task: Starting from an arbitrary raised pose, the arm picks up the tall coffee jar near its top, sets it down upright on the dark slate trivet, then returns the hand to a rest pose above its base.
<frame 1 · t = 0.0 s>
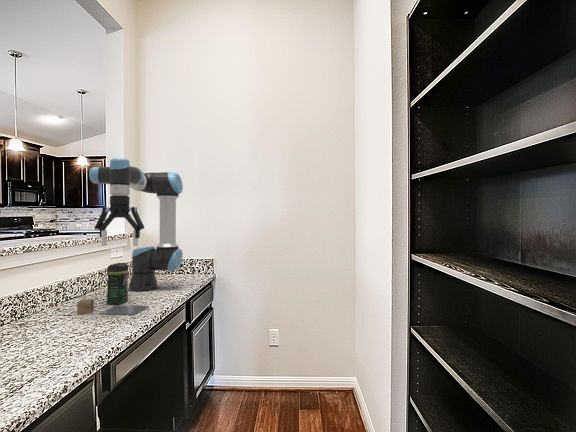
hand: (119, 246, 153), 28 cm above the counter, fingers open, 13 cm apart
walnut block: (85, 312, 154), on the counter
coffee jar: (117, 303, 171), on the counter
slate trivet: (125, 310, 156), on the counter
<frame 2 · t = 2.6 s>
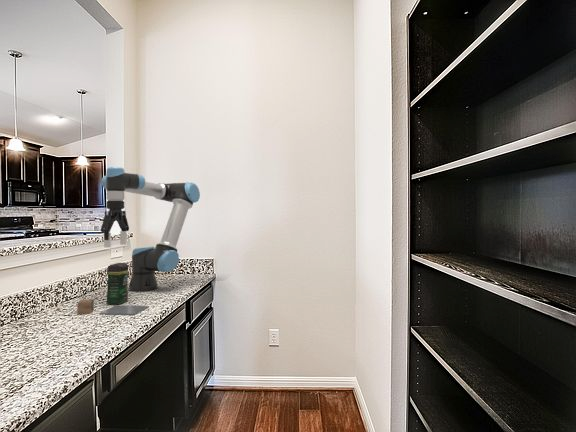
hand: (115, 245, 171), 27 cm above the counter, fingers open, 13 cm apart
nothing on the counter moved.
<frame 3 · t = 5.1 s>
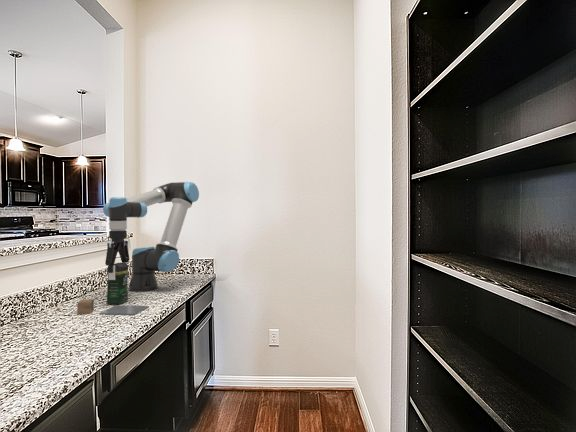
hand: (117, 277, 171), 12 cm above the counter, fingers closed on coffee jar, 9 cm apart
coffee jar: (117, 302, 171), on the counter, touching gripper
everything else where it was.
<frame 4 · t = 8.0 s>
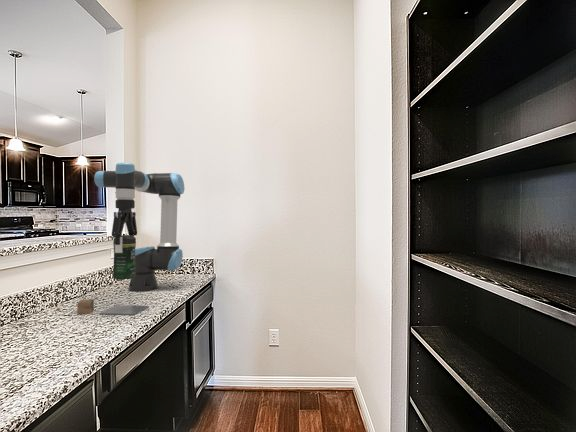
hand: (125, 251, 156), 25 cm above the counter, fingers closed on coffee jar, 9 cm apart
coffee jar: (124, 278, 156), point 14 cm above the counter, touching gripper
everything else where it was.
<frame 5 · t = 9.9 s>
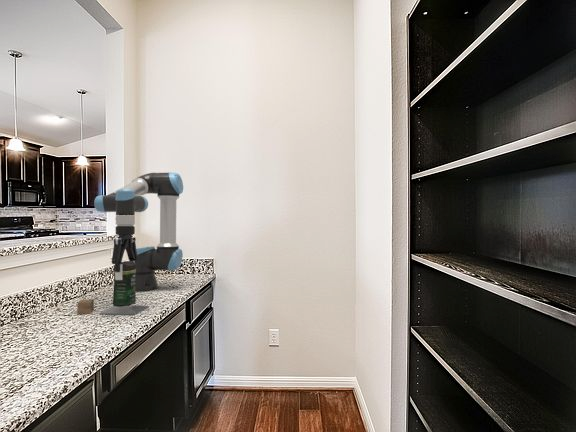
hand: (125, 277, 156), 14 cm above the counter, fingers closed on coffee jar, 9 cm apart
coffee jar: (124, 305, 156), point 2 cm above the counter, touching gripper
everything else where it was.
when the fingers open (13 cm above the counter, at t = 11.1 s): coffee jar stays where it is, resting on slate trivet.
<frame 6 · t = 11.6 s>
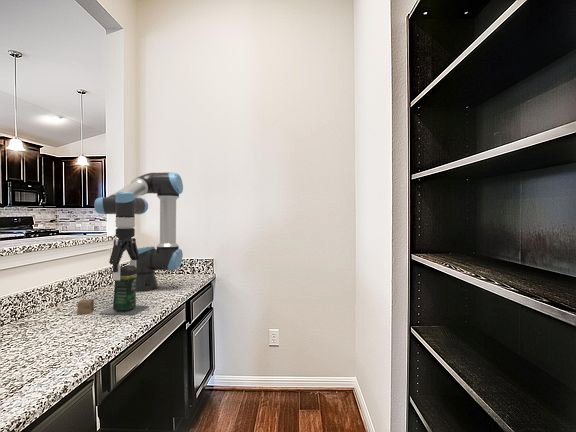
hand: (125, 277, 156), 14 cm above the counter, fingers open, 13 cm apart
coffee jar: (124, 309, 156), point 1 cm above the counter, touching slate trivet
everything else where it was.
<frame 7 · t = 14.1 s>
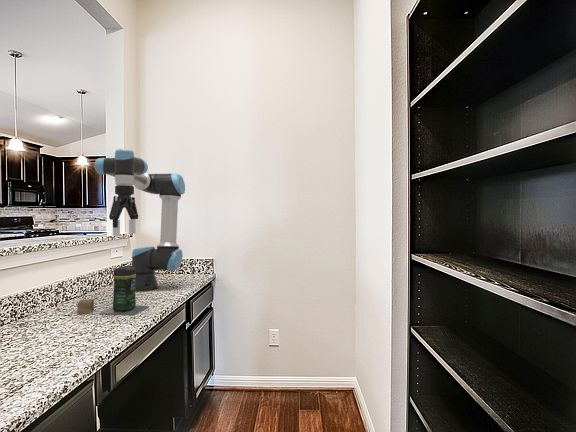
hand: (124, 234, 158), 33 cm above the counter, fingers open, 13 cm apart
nothing on the counter moved.
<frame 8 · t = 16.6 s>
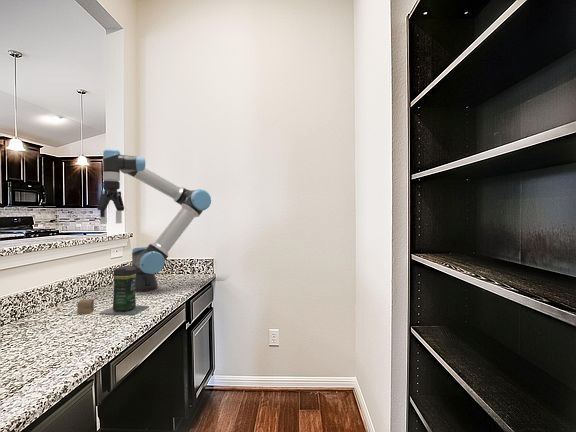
hand: (111, 223, 182), 37 cm above the counter, fingers open, 13 cm apart
nothing on the counter moved.
at the end: coffee jar inside the target area on the slate trivet (0.1 cm from its centre), point 0.4 cm above the slate trivet's base; coffee jar tilted 0°; the gripper is holding nothing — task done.
